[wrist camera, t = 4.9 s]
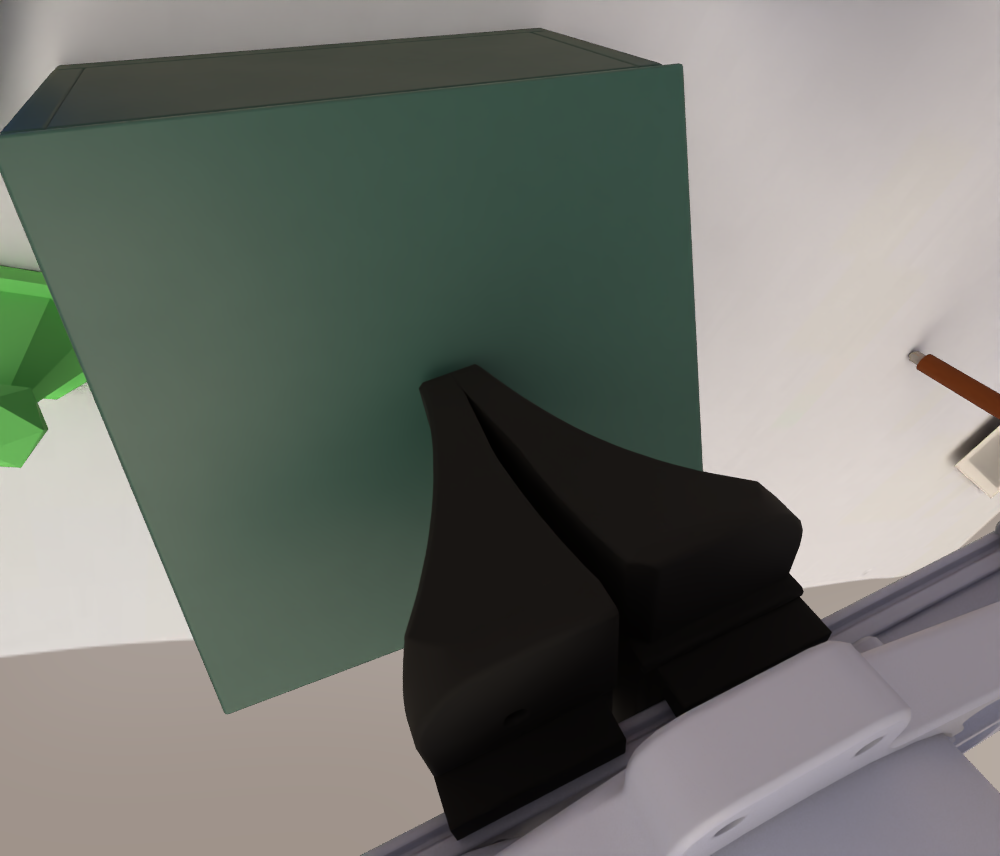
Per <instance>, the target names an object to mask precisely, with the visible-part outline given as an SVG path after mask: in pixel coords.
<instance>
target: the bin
mask: <svg viewBox="0 0 1000 856" xmlns="http://www.w3.org/2000/svg"><path fill="white" fill-rule="evenodd" d="M659 65H662V64H660V63H657V62H654V61H650V60H647V59H644V58H640V57H637V56H633V55H630V54H627V53H623V52H620V51H616V50H613V49H610V48H606V47H603V46H599V45H596V44H593V43H589V42H586V41H583V40H579V39H576V38H572V37H569V36H566V35H562V34H559V33H555V32H552V31H548V30H545V29H542V28H533V29H520V30H507V31H494V32H482V33H469V34H456V35H443V36H431V37H418V38H405V39H392V40H379V41H367V42H354V43H341V44H328V45H316V46H303V47H290V48H277V49H265V50H252V51H239V52H226V53H214V54H201V55H188V56H175V57H163V58H150V59H137V60H124V61H112V62H99V63H86V64H73V65H61V66H58V67H57V68H56V69H55V70H54V71H53V72H52V73H51V74H50V75H49V76H48V77H47V79H46V80H45V81H44V82H43V83H42V84H41V86H40V87H39V88H38V89H37V90H36V91H35V93H34V94H33V95H32V96H31V97H30V99H29V100H28V101H27V102H26V103H25V104H24V106H23V107H22V108H21V109H20V110H19V111H18V113H17V114H16V115H15V116H14V117H13V118H12V120H11V121H10V122H9V123H8V124H7V126H6V127H5V128H4V129H3V130H2V131H1V133H0V134H8V133H18V132H28V131H37V130H47V129H56V128H66V127H75V126H85V125H95V124H104V123H114V122H123V121H133V120H142V119H152V118H162V117H171V116H181V115H190V114H200V113H209V112H219V111H229V110H238V109H248V108H257V107H267V106H276V105H286V104H296V103H305V102H315V101H324V100H334V99H343V98H353V97H362V96H372V95H382V94H391V93H401V92H410V91H420V90H429V89H439V88H449V87H458V86H468V85H477V84H487V83H496V82H506V81H516V80H525V79H535V78H544V77H554V76H563V75H573V74H583V73H592V72H602V71H611V70H621V69H630V68H640V67H650V66H659Z"/></svg>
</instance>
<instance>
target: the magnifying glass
mask: <svg viewBox="0 0 1000 856" xmlns="http://www.w3.org/2000/svg"><path fill="white" fill-rule="evenodd" d="M909 358H910V359H909V360H910V361H911V362H913V363H915V364H916V365H917V370H919V371H921V372H922V373H924V374H926V375H927V376H929V377H931V378H932V379H934V380H935V381H937V382H939V383H940V384H942V385H944V386H945V387H947V388H949V389H950V390H952V391H954V392H955V393H957V394H958V395H960V396H962V397H963V398H965V399H967V400H968V401H970V402H972V403H973V404H975V405H976V406H978V407H980V408H981V409H983V410H985V411H986V412H988V413H990V414H991V415H993V416H995V417H996V418H998V419H999V420H1000V394H999V393H997V392H995V391H994V390H992V389H990V388H989V387H987V386H985V385H983V384H982V383H980V382H978V381H976V380H975V379H973V378H971V377H970V376H968V375H966V374H964V373H963V372H961V371H959V370H957V369H956V368H954V367H952V366H950V365H949V364H947V363H945V362H944V361H942V360H940V359H938V358H937V357H935V356H933V355H931V354H928V355H924V354H922V353H921V352H919V351H916V352H912V353H911V354H910V355H909Z"/></svg>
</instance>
